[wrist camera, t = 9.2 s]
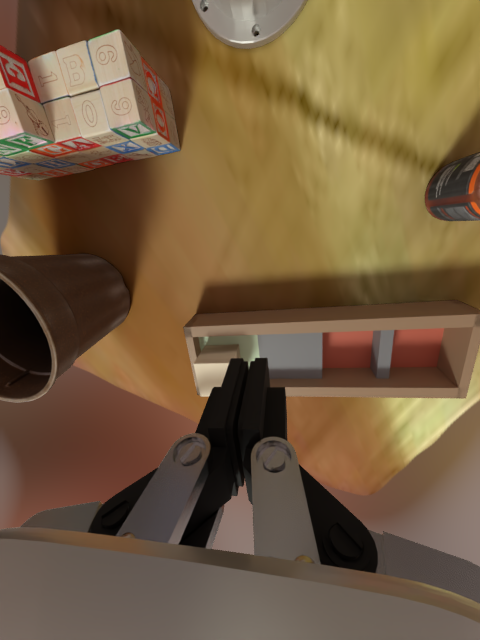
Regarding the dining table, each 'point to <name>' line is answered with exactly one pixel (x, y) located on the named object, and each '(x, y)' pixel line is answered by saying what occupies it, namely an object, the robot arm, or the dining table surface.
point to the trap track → (353, 347)
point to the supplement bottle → (456, 191)
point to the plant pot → (53, 317)
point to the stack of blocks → (82, 109)
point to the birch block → (213, 366)
